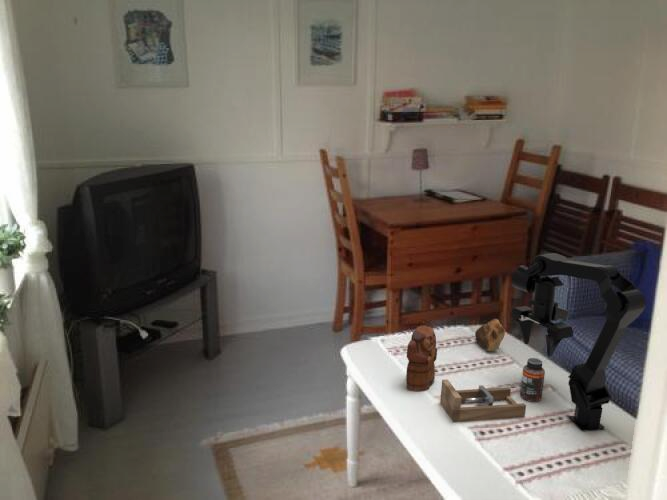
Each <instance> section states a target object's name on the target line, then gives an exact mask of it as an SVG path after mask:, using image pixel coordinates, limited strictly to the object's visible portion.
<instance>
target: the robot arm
mask: <svg viewBox="0 0 667 500" xmlns="http://www.w3.org/2000/svg"><path fill="white" fill-rule="evenodd" d="M532 261H533V262H531V264H530V265H529V266H528V267H527V266H526V265H518V266H517V270H515V271H514V272H513V274H512V276H511V278H510V282H511V283H510V284H511V285H512V287H514V288H516V289H518V290H521V291H523V292H526V293H529V294H533V296H532V299H529V300H528V303H529V304H530V305H531V307H529V306H527V305H522V306H516V307H513V308H512V310H511V312H510V313H511V314H510V317H511V318H512V319H513V321H514V322H515V324H516V326H517V329H518V330H519V332H520V333H519V334H520V335H521V337H522V341H523V343H524V345H528V344H529V343H530V340H531V339H530V338H531V333H532V326H533V324H534V323H535V324H537V325H540V326H541V327H544V328H546V335H545V343H546V353H547V357H552V356H553V354H554V353H555V351H556V350H557V347H558V345H559V344H560V343H561V342H562V340H564V339H568V338H572V337H573V336H574V330H575V329H574V327H573V326H572V325H569V324H567V323H565V322H567V320H568V318H569V314H570V313H571V312H570V310H567V309H565V308H563V307H560V306H559V303H558V302H557V301H556V299H555V298H556V291H557V287H563V286H564V283H563V282H562V280H560V277H559V276H566V277H573V278H578V279H582V280H583V279H584V280H588V281H595V282H596V283H597V285H598V287H599V292H600V296H601V298H602V299H603V301H604V302H605V303H606V304H605V308H604V309H605V310H604V313H605V318H606V319H605V321H604V324H603V326H602V328H601V330H600V332H599V334H598V336H597V337H596V340H595V342H594V344H593V346H592V348H591V351H590V353H589V355H588V357H587V359H586V361H585V362H582V363H577V364H575V365H574V366H573V367H572V370H571V372H570V374H569V375H568V376H567V378H569V380H568V386H569V392H570V398H571V399H570V400H571V403H573V404H574V405H575V408H574V409H575V410H574V415H569V417H568V418H569V420H570V421H571V422H572V423H573V424H574V425H575V426H576V427H578V429H579V430H581V431H583V432H586V431H587V432H588V431H602V430H603V431H604V430H605V426H604V425H603V424H602V423H601V421H602V420H601V419H602V414H603V408H604V407H602V406H603V405H607V404H609V403H610V402H611V400H612V397H611V394H610V392H609V390H608V388H607V386H606V385H605V384H606V381H607V374H606V369H607V367H608V364H610V363H609V362H610V361H611V359H612V356H613V355H614V352H615V351H616V349H617V347H618V345H619V343H620V341H621V339H622V338H623V335H624V333H625V331H626V329H627V327H628V326H629V325H630V324H631V323H633V322H634V321H635V320H636V319H638V318H639V316H641V314H642V313H643V311H644V310H645V309H646V307H647V299H646V296H645V295H644V294H643V292H642V291H640V290H639V289H638V287H637V286H636V284H635V283H633V281H632V280H630V279H628V278H627V277H626V276H625V275H623V274H622V273H621V272H620V270H619V269H618V268H617V267H616V266H614V265H611V264H610V265H604V264H597V263H593V262H592V263H590V262H585V261H584V262H583V261H578V260H572V259H569V258H567V256H564V255H562V254H559V253H556V252H555V253H554V252H553V253H547V254H538V255H536V256H535V257H534V259H533V260H532ZM551 276H553V277H551ZM612 285H613V286H614V287H615V288H617V289H618V290H619V291H615V289H614V287H613V286H612ZM559 320H562V322H556V321H559ZM552 321H554V322H555V323H554V322H552Z"/></svg>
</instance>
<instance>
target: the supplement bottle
mask: <svg viewBox="0 0 667 500" xmlns="http://www.w3.org/2000/svg"><path fill="white" fill-rule="evenodd" d="M545 370H546V369H544V368H543V361H542V360H541V359H539V358H535V357H529V358H527V361H526V364H525V365H524V366H523V368H522V374H521V375H522V376H521V382H520V383H521V384H520V391H519V396H520V397H521V398H522V399H524V400H526V401H528V402H539V401H540V400H541V399H542V397H543V390H544V383H545V382H544V381H545V375H546V371H545ZM541 401H542V400H541Z"/></svg>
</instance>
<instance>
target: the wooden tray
mask: <svg viewBox="0 0 667 500" xmlns="http://www.w3.org/2000/svg"><path fill="white" fill-rule="evenodd" d="M486 390H487V391H488V392H489V393H490V394H491V395H492V397H493V403H494V402H495V403H496V402H506V404H494V405H491V406H480V405H479V406H478V405H477V406H476V405H475V406H465V407H464V406H463V407H462V404H463V405H464V404H478V402H465V398H478V388H476V389H475V388H473V389H460V390H459V389H458V390H457V389H456V388H455V387H454V386H453V384H452V383H451V381H450V379H441V389H440V400H439V403H440V405H441V406H442V408H443V409H444V411H445V412H446V414H447V415H448V416H449V419H450V420H451V421H452V423H461V422H476V421H493V420H505V419H507V420H508V419H521V418H522V419H523V418H525V417H526V409H527V405H526V404H525V403H522V402H521V403H517V402H516V400H514V399H513V397H512V396H511V391H512V389H511V387H509V386H507V387H491V388H486Z"/></svg>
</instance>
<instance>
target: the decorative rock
mask: <svg viewBox="0 0 667 500" xmlns="http://www.w3.org/2000/svg"><path fill="white" fill-rule="evenodd" d="M505 334H506V330H505V328H504V326H503V325H502V324H501V323H500V321H499V319H498V318H492V319H491V320H490V321H488V322H487V323H484V324H482V325H480V327H478V328H477V329H476V331H475V335H474V336H475V341H476V342H477V343H478V345H479V346H480V347H481V348H482V349H485V351H487V352H493V351H495V350H498V349H500V345H501V344H502V342H503V340H504V338H505V336H506V335H505Z"/></svg>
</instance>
